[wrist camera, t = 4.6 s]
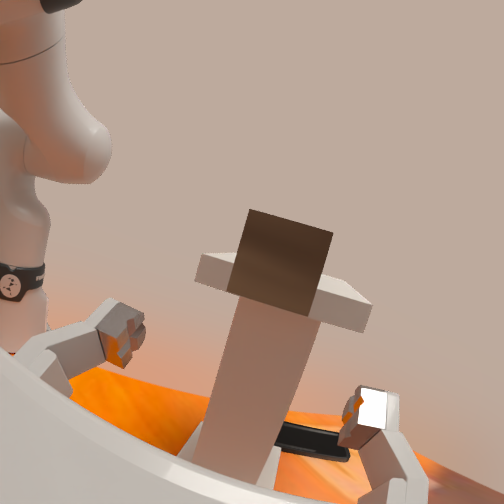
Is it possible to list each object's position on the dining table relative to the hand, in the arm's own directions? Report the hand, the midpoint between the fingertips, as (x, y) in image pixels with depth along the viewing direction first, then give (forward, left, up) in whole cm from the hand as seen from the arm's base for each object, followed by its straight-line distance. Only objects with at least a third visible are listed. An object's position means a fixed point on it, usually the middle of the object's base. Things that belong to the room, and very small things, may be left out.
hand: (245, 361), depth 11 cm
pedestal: (-12, +15, -24) cm, 31 cm away
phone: (-14, +31, -24) cm, 42 cm away
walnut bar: (-9, +10, +2) cm, 14 cm away
